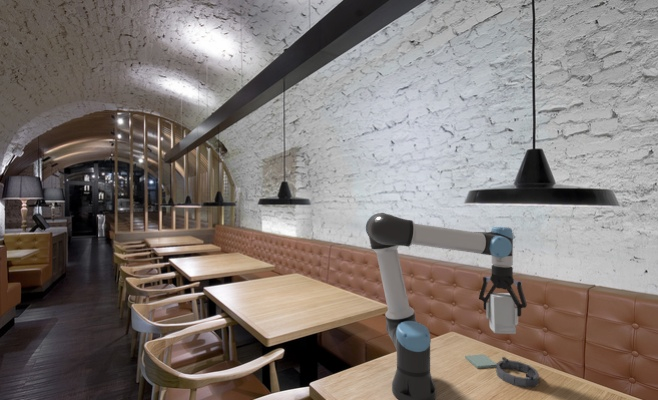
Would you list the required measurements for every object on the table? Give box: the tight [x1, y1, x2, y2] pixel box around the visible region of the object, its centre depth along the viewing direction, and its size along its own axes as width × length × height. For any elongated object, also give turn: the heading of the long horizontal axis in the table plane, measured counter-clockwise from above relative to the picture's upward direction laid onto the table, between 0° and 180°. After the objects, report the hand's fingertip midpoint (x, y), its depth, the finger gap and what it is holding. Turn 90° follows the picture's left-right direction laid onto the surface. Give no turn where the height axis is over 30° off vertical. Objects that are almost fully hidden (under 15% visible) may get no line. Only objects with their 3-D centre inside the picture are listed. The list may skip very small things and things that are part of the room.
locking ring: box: [495, 356, 540, 388], centre depth 124 cm, size 14×15×4 cm
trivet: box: [464, 353, 497, 369], centre depth 136 cm, size 9×9×1 cm
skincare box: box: [488, 292, 517, 335], centre depth 129 cm, size 8×6×15 cm
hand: (501, 320), depth 129 cm, fingers closed on skincare box, 10 cm apart
